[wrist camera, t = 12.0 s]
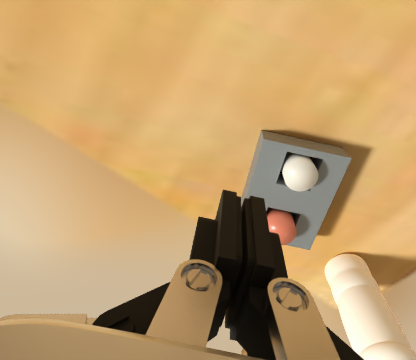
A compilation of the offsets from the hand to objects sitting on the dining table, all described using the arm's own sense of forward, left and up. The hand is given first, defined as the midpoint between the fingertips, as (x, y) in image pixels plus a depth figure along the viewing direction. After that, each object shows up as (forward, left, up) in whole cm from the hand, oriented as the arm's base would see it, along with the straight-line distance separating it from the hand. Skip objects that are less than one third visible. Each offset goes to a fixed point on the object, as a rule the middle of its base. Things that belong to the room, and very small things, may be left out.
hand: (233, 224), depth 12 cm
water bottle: (-26, +26, -32) cm, 49 cm away
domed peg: (-11, +8, -31) cm, 34 cm away
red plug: (-11, +17, -30) cm, 37 cm away
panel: (-11, +13, -32) cm, 36 cm away
